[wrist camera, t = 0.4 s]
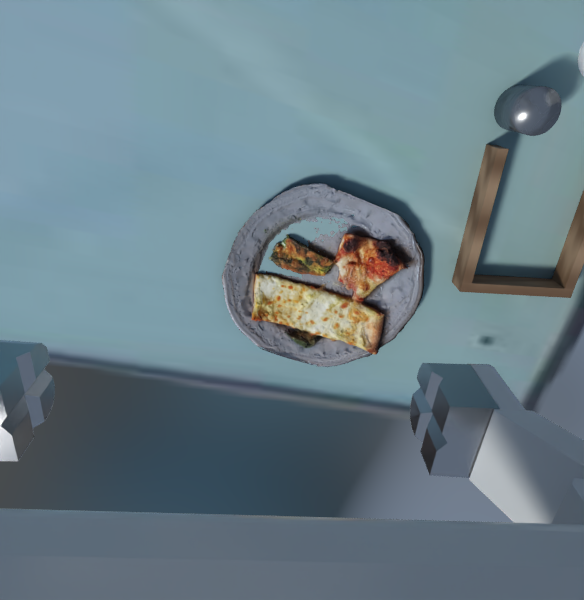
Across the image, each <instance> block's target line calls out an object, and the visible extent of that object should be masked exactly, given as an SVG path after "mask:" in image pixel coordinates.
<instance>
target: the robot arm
mask: <svg viewBox="0 0 584 600" xmlns="http://www.w3.org/2000/svg"><path fill="white" fill-rule="evenodd" d="M49 361H50V359H49V355H48V350H47V347H46V346H45V345H43V344H42V343H34V342H20V341H6V340H0V461H19V459H20V458H21V456H22V455H23V453H24V452H25V450H26V449H27V447H28V446H29V444H30V443H31V441H32V440H33V438H34V433H33V428H34V427H36V426H37V425H39V424H41V423H42V422H44V421H45V420H46V418H47V416H48V415H49V413H50V411H51V408H52V405H53V401H54V395H55V386H54V380H53V377H52V376H51V375H50V374H49V373H48V372H47V371H46V370H45V369H44V368H45V367H46V365H47V364H48V362H49ZM417 380H418V382H419V384H420V388H419V389H418V390H417V391H416V392H415V393H414V394H413V396H412V400H411V405H410V421H411V426H412V430H413V432H414V435H415V437H417V438H418V439H419V440H420V441H422V442H423V444H422V448H421V454H422V456H423V459H424V462H425V464H426V467H427V469H428V472H429V475H434V476H450V477H466V478H470V479H469V480H470V481H471V482H472V483H473V484H474V485H475V486H476V487H478V488H479V489H480V490H481V491H482V492H483V493H484V494H485V495H486V496H487V497H488V498H489V499H490V500H491V501H492V502H493V503H494V504H495V505H496V506H497V507H498V508H499V509H500V510H502V511H503V512H504V513H505V514H506V515H507V516H508V517H509V518H510V519H511V520H512V521H513V522H514V523H510V522H467V521H466V522H465V521H431V520H398V519H396V520H394V519H363V518H328V517H327V518H326V517H292V516H291V517H290V516H257V515H218V514H217V515H216V514H178V513H142V512H103V511H69V510H34V509H0V600H584V440H582V439H581V438H579V437H577V436H575V435H574V434H572V433H570V432H568V431H567V430H565V429H563V428H562V427H560V426H558V425H556V424H555V423H553V422H551V421H549V420H548V419H546V418H544V417H542V416H541V415H539V414H537V413H536V412H534V411H526V410H525V409H524V407H523V406H522V405H521V403H520V402H519V401H518V399H517V398H516V397H515V395H514V394H513V392H512V391H511V390H510V388H509V387H508V386H507V384H506V383H505V382H504V380H503V379H502V378H501V376H500V375H499V374H498V372H497V371H496V369H495V368H494V367H493V366H491V365H489V364H442V363H422V365H421V367H420V368H419V372H418V375H417Z"/></svg>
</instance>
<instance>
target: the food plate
mask: <svg viewBox="0 0 584 600" xmlns="http://www.w3.org/2000/svg"><path fill="white" fill-rule="evenodd" d="M328 186H329V185H327V184H324V183H319V184H316V183H315V184H314V183H313V184H309V185H308V184H306V185H302V186H297V187H294V188H292V189H290V190H287V191H284V192H282V193H281V194H280V195H278V196H277V197H275V198H273V200H272V201H271V202H270V203H268V204H266V205H265V206H263V207H261V209H258V210H256V212H255V213H254V214H253V216H251V217H250V218H249V220H248V221H247V222H246V223H245V225H244V226H243V228H242V229H241V230H240V232H238V236H237V237H236V240H235V241H234V243H233V246H232V248H231V252H230V254H229V256H228V259H227V262H226V265H225V269H224V272H223V275H222V281H223V286H224V287H223V289H224V292H225V295H224V296H225V301H226V304H227V307H228V310H229V312H230V315H231V318H232V319H233V321H234V323H235V324H236V326H237V327H238V328H239V330H241V332H242V333H243V334H244V335H246V336H247V337H248V338H249V339H251V341H252V342H253V343H254V344H256V345H257V346H259V347H263V348H264V349H263V350H265V349H266V351H268V350H269V351H268V352H270V351H271V353H273V352H275V353H274V354H276V353H277V355H280V356H283V357H286V358H289V359H293V360H297V361H300V360H301V361H300V362H303V361H304V363H307V364H309V363H311V365H314V364H315V365H316V364H317V366H325V367H327V366H328V367H329V366H337V365H341V364H345V363H348V362H351V361H353V360H356V359H360V358H363V357H368V356H370V355H372V354H377V353H378V350H379V348H380V347H382V346H383V345H385V344H386V343H388V342H390V341H391V340H393V339H394V338H395V337H396V336H397V334H398V333H399V332H400V331H401V330H402V329H403V328H404V326H405V325H406V324H407V322H408V321H409V320H410V319H411V318H412V316H413V315H414V313H415V311H416V308H417V307H418V305H419V302H420V300H421V298H422V294H423V288H424V261H425V260H424V254H423V251H422V248H421V247H420V244H419V245H418V244H417V243H418V242H417V240H416V238H415V235H414V233H412V232H411V230H410V229H409V225H408V223H406V221H405V220H404V219H402V217H400V216H399V215H398V214H396V213H393V212H391V211H389V210H387V209H385V208H382V207H379V206H377V205H374V204H372V203H370V202H367V201H365V200H363V199H360V198H357V197H354V196H352V195H350V194H348V193H345V192H342V191H340V190H338V191H336V190H335V188H333V187H332V188H331V186H329V187H328ZM351 214H354V215H355V216H354V217H353V216H352V215H351ZM316 217H322V219H330V221H332V219H331V218H332V217H335V218H343V219H344V220H345V221H346V222H348V224H345V223H343V224H342V227H341V228H343V227H347V230H348V231H343V232H340V230H339V231H338V233H336V234H335V235H334V237H331V236H330V237H329V236H328V235H327V234H325V235H323V234H320V236H319V238H315V241H317V242H315V241H312V242H311V243H310V240H308V243H309V246H308V247H307V246H306V245H304V244H303V243H300V242H299V241H297V240H295V239H293V238H292V237H290V236H289V235H288V234H287V235H286V236H287V237H286V238H285V239H284V240H283V241H282V242H278V243H276V245H275V246H274V248H273V253H272V255H271V257H269V259H270V260H272V261H273V262H274V263H275V264H276V265H277V266H278V267H281V268H282V269H283V268H285V269H287V270H288V269H290V270H292V271H293V272H297V273H299V274H302V279H300V278H299V277H294V276H286V275H285V276H284V275H282V274H279V275H277V274H274V273H267V271H266V274H263V273H258V271H259V269H260V265H261V263H262V260H263V257H264V256H265V252H266V250H267V249H268V245H269V243H270V242H271V241H272V240H273V239H274V237H275V236H276V235H277V234H280V232H281V230H282V229H284V230H286V228H287V229H288V226H289V225H290V224H293V223H297V222H298V223H300V222H301V221H300V220H305V219H306V221H309V222H310V221H312V222H314V221H315V222H317V221H318V220H317V219H316ZM333 221H335V219H334V220H333ZM339 222H340V221H338V222H336V221H335V223H339ZM321 223H322V221H321ZM329 224H331V222H330V223H329ZM350 224H351V226H350ZM353 225H355V226H359V227H355V228H354V227H353V228H352V226H353ZM338 227H339V228H340V225H339V226H338ZM314 229H316V228H314ZM318 230H319V228H317V231H316V233H318ZM351 231H352V232H351ZM330 233H331V235H333V233H335V232H334V231H331V232H330ZM340 237H341V238H340ZM303 239H304V238H303ZM322 239H323V240H324V239H325V240H324V241H323V242H322V241H321V240H322ZM311 247H312V248H311ZM318 251H320V252H318ZM324 251H325V252H324ZM312 275H313V276H312ZM323 277H324V278H323ZM322 279H323V280H322ZM328 281H330V282H328ZM345 287H346V288H345ZM261 349H262V348H261Z"/></svg>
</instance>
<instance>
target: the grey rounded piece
mask: <svg viewBox="0 0 584 600" xmlns="http://www.w3.org/2000/svg"><path fill="white" fill-rule="evenodd" d="M560 112H561V99H560V96H559V95H558V93H557V92H556V91H555V90H554V89H552V88H550V87H543V86H527V85H516V86H513V87H510V88H508V89H507V90H505V91H504V92H503V93H502V94H501V95H500V97H499V98H498V100H497V102H496V105H495V109H494V116H495V120H496V122H497V123H498V125H499V126H500V127H502V128H503V129H506V130H510V131H514V132H518V133H522V134H525V135H530V136H536V135H540V134H543V133H545V132H546V131H548V130H549V129H550V128H551V127H552V126H553V125H554V124H555V123H556V121H557V120H558V118H559V115H560Z"/></svg>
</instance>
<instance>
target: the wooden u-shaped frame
mask: <svg viewBox="0 0 584 600" xmlns="http://www.w3.org/2000/svg"><path fill="white" fill-rule="evenodd" d="M508 150H509V149H507V148H504V147H501V146H498V145H488V144H486V148H485V152H484V156H483V160H482V164H481V168H480V172H479V176H478V180H477V184H476V188H475V192H474V196H473V200H472V204H471V208H470V212H469V216H468V220H467V224H466V228H465V232H464V235H463V239H462V243H461V247H460V251H459V255H458V259H457V263H456V267H455V271H454V275H453V279H452V283H453V284H454V285H455V286H456V287H457V289H458V290H459V291H460V292H476V293H494V294H512V295H530V296H548V297H566V298H571V296H572V293H573V290H574V288H575V285H576V283H577V280H578V277H579V275H580V272H581V270H582V267H583V264H584V191H583V194H582V196H581V199H580V202H579V205H578V208H577V210H576V213H575V216H574V219H573V221H572V224H571V227H570V230H569V233H568V235H567V238H566V241H565V244H564V247H563V249H562V252H561V255H560V258H559V261H558V263H557V266H556V269H555V272H554V275H553V277H552V279H544V278H526V277H509V276H492V275H475V270H476V266H477V263H478V259H479V255H480V252H481V248H482V244H483V241H484V237H485V233H486V230H487V226H488V223H489V219H490V215H491V212H492V208H493V204H494V201H495V197H496V193H497V190H498V186H499V182H500V179H501V175H502V172H503V168H504V164H505V161H506V157H507V153H508Z"/></svg>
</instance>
